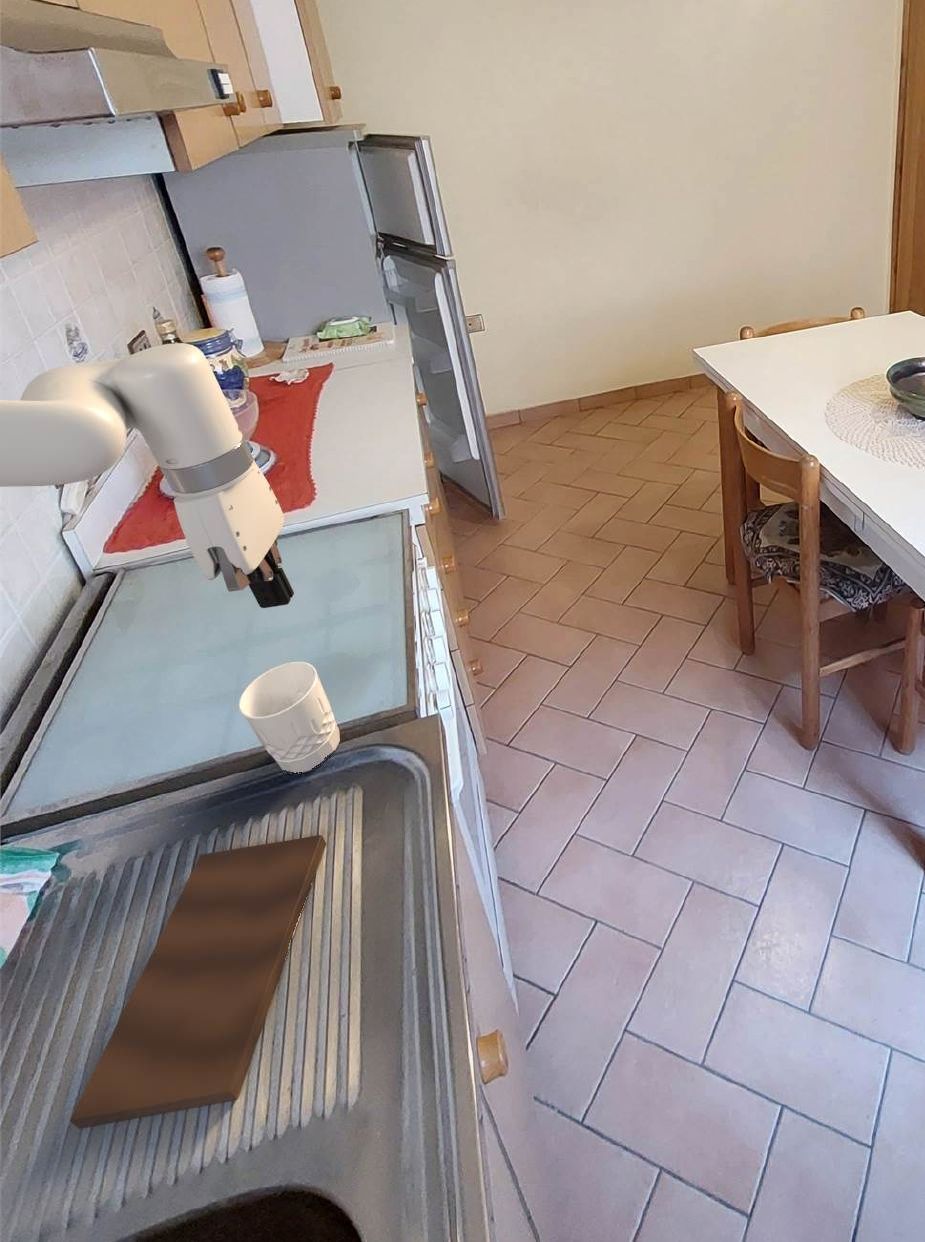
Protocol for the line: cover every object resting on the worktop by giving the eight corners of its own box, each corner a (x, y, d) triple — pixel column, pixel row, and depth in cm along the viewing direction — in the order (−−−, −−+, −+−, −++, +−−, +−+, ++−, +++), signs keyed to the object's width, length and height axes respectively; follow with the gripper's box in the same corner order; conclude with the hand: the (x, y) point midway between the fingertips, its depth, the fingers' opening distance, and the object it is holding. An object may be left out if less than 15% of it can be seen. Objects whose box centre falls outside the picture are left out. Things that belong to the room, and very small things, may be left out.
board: (206, 863, 77) (200, 854, 76) (326, 843, 78) (321, 834, 77) (78, 1129, 59) (68, 1121, 58) (237, 1100, 59) (229, 1091, 59)
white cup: (257, 773, 86) (221, 713, 81) (304, 716, 93) (274, 657, 88) (315, 784, 84) (282, 723, 79) (360, 725, 91) (331, 665, 86)
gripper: (205, 433, 83) (270, 564, 92) (129, 513, 70) (213, 656, 79) (275, 424, 83) (333, 554, 92) (213, 501, 70) (287, 645, 79)
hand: (278, 601), depth 86 cm, fingers closed
